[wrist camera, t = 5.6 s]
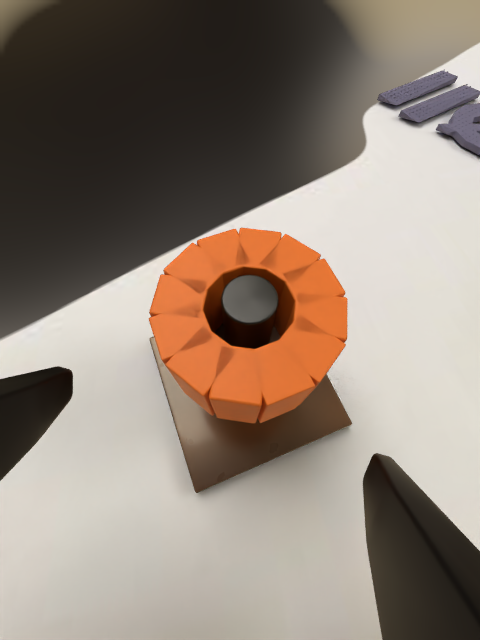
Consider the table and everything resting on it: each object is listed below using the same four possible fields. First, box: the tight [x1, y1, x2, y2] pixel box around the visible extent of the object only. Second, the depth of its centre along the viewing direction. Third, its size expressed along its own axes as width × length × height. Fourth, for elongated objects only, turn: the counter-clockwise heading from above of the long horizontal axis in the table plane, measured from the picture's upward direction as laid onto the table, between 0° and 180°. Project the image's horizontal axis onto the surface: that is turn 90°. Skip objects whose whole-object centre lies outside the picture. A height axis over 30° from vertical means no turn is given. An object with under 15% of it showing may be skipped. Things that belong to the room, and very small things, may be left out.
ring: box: [149, 228, 347, 423], centre depth 13 cm, size 7×7×4 cm
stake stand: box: [150, 275, 352, 493], centre depth 16 cm, size 10×10×12 cm
